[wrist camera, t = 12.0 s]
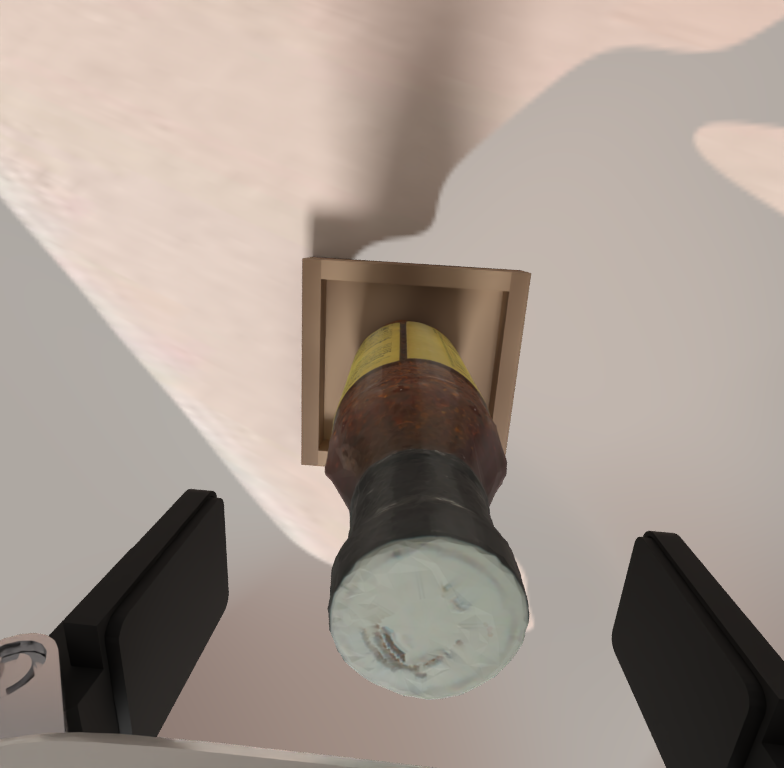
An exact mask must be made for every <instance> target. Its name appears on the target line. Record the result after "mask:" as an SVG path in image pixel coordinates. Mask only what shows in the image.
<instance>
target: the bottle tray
mask: <svg viewBox="0 0 784 768" xmlns="http://www.w3.org/2000/svg"><path fill="white" fill-rule="evenodd" d="M530 278H531V273H528V272H524V271H521V270H507V269H491V268H475V267H460V266H445V265H444V266H443V265H429V264H413V263H398V262H382V261H366V260H351V259H336V258H320V257H309V258H303V259H302V451H301V465H313V466H325V464H326V460H327V454H328V449H329V442H330V438H331V435H332V428H333V421H334V417H335V413H336V410H337V407H338V404H339V401H340V398H341V396H342V393H343V390H344V387H345V384H346V381H347V378H348V375H349V372H350V369H351V366H352V363H353V360H354V357H355V355H356V353H357V351H358V349H359V348H360V346H361V345H362V343H363V341H364V340H365V339H366V338H367V337H368V336H369V335H371V334H372V333H373V332H375V331H377V330H378V329H379V328H380V327H383V326H384V325H386V324H388V323H391V322H394V321H398V320H407V321H414V322H419V323H422V324H426V325H428V326H430V327H432V328H436V329H438V330H439V331H440V332H441V333H442V334H443V335H444V336H445V337H446V338H448V339H449V341H450V342H451V343H452V344H453V346H454V347H455V349H456V350H457V352H458V353H459V356H460V357H461V359H462V361H463V363H464V365H465V366H466V368H467V370H468V372H469V374H470V375H471V377H472V379H473V381H474V383H475V385H476V386H477V388H478V390H479V392H480V393H481V395H482V397H483V399H484V400H485V403H486V405H487V408H488V410H489V413H490V416H491V418H492V420H493V422H494V423H495V424H496V425H497V431H498V434H499V438H500V441H501V445H502V448H503V451H504V454H506V447H507V440H508V433H509V426H510V419H511V412H512V405H513V398H514V391H515V384H516V377H517V370H518V363H519V356H520V349H521V342H522V335H523V327H524V321H525V313H526V306H527V299H528V292H529V285H530Z"/></svg>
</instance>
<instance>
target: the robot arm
mask: <svg viewBox="0 0 784 768" xmlns="http://www.w3.org/2000/svg"><path fill="white" fill-rule="evenodd" d="M228 596H229V591H228V573H227V553H226V536H225V518H224V502H223V500H222V499H221V498H217V495H216V493H215V492H214V491H207V490H195V489H188V490H187V491H186V492H185V493H184V494H183V495H182V496H181V497H180V498H179V499H178V500H177V501H176V502H175V503H174V504H173V506H172V507H171V508H170V509H169V510H168V511H167V512H166V513H165V514H164V515H163V516H162V517H161V518H160V519H159V521H157V523H156V524H155V525H154V526H153V527H152V528H151V529H150V530H149V531H148V532H147V533H146V534H145V535H144V536H143V537H142V538H141V539H140V541H139V542H138V543H137V544H136V545H135V546H134V547H133V548H131V549H130V550H129V551H128V552H127V553H126V554H125V555H124V557H123V558H122V559H121V560H120V561H119V562H118V563H117V564H116V565H115V566H114V567H113V568H112V569H111V570H110V572H108V573H107V575H106V576H105V577H104V578H103V579H102V580H101V581H100V582H99V583H98V584H97V585H96V586H95V587H94V588H93V589H92V590H91V592H90V593H89V594H88V595H87V596H86V597H85V598H84V599H83V600H82V601H81V602H80V603H79V604H78V605H77V606H76V607H75V608H74V610H73V611H72V612H71V613H70V614H69V615H68V616H67V617H66V618H65V619H64V620H63V621H62V622H61V623H60V624H59V625H58V626H57V628H56V629H55V630H54V631H53V632H52V633H51V634H50V635H49V636H47V635H43V634H37V633H29V634H19V635H16V636H12V637H8V638H4V639H2V640H0V768H433V767H425V766H417V765H408V764H400V763H391V762H383V761H373V760H365V759H357V758H349V757H340V756H331V755H321V754H313V753H304V752H295V751H286V750H277V749H267V748H259V747H250V746H241V745H232V744H223V743H214V742H203V741H193V740H182V739H171V738H161V737H157V735H158V733H159V732H160V730H161V728H162V726H163V724H164V722H165V720H166V719H167V716H168V715H169V713H170V711H171V709H172V707H173V706H174V704H175V702H176V700H177V698H178V696H179V694H180V692H181V691H182V689H183V687H184V685H185V683H186V681H187V679H188V678H189V676H190V674H191V672H192V670H193V668H194V666H195V665H196V662H197V661H198V659H199V657H200V655H201V653H202V652H203V650H204V648H205V646H206V644H207V642H208V641H209V639H210V637H211V635H212V633H213V631H214V629H215V628H216V626H217V624H218V622H219V620H220V618H221V617H222V615H223V613H224V611H225V609H226V606H227V602H228ZM612 645H613V649H614V652H615V654H616V656H617V659H618V661H619V663H620V665H621V668H622V670H623V672H624V674H625V676H626V679H627V681H628V683H629V685H630V687H631V690H632V692H633V694H634V697H635V699H636V701H637V703H638V706H639V708H640V710H641V712H642V714H643V717H644V719H645V721H646V723H647V726H648V728H649V730H650V732H651V735H652V737H653V739H654V741H655V743H656V745H657V748H658V750H659V752H660V755H661V757H662V759H663V761H664V764H665V766H666V768H784V661H783V660H782V659H781V657H780V656H779V655H778V654H777V653H776V651H775V650H774V649H773V648H772V647H771V645H770V644H769V643H768V642H767V640H766V639H765V638H764V637H763V636H762V634H761V633H760V632H759V631H758V630H757V629H756V627H755V626H754V625H753V624H752V623H751V621H750V620H749V619H748V618H747V617H746V615H745V614H744V613H743V612H742V611H741V610H740V608H739V607H738V606H737V605H736V604H735V602H734V601H733V600H732V599H731V597H730V596H729V595H728V594H727V593H726V591H725V590H724V589H723V588H722V587H721V585H720V584H719V583H718V582H717V581H716V579H715V578H714V577H713V576H712V575H711V573H710V572H709V571H708V570H707V569H706V567H705V566H704V565H703V564H702V563H701V561H700V560H699V559H698V558H697V557H696V556H695V554H694V553H693V552H692V551H691V549H690V548H689V547H688V546H687V545H686V543H684V541H683V540H682V539H681V537H680V536H678V535H677V534H675V533H666V532H655V531H647V532H646V533H645V534H644V535H643V537H638V538H637V539H636V541H635V544H634V547H633V552H632V555H631V559H630V563H629V567H628V571H627V575H626V579H625V583H624V587H623V591H622V595H621V599H620V603H619V607H618V611H617V615H616V619H615V623H614V627H613V631H612Z"/></svg>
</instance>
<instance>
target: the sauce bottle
mask: <svg viewBox="0 0 784 768" xmlns="http://www.w3.org/2000/svg"><path fill="white" fill-rule="evenodd" d="M506 467H507V461H506V458H505V454H504V451H503V448H502V445H501V441H500V438H499V434H498V431H497V425H496V424H495V423H494V422H493V420H492V418H491V416H490V413H489V410H488V408H487V405H486V403H485V400H484V399H483V397H482V395H481V393H480V392H479V390H478V388H477V386H476V385H475V383H474V381H473V379H472V377H471V375H470V374H469V372H468V370H467V368H466V366H465V365H464V363H463V361H462V359H461V357H460V356H459V353H458V352H457V350H456V349H455V347H454V346H453V344H452V343H451V342H450V341H449V339H448V338H446V337H445V336H444V335H443V334H442V333H441V332H440V331H439V330H438V329H436V328H432V327H430V326H428V325H426V324H422V323H419V322H414V321H407V320H398V321H394V322H391V323H388V324H386V325H384V326H383V327H380V328H379V329H378V330H377V331H375V332H373V333H372V334H371V335H369V336H368V337H367V338H366V339H365V340H364V341H363V343H362V345H361V346H360V348H359V349H358V351H357V353H356V355H355V357H354V360H353V363H352V366H351V369H350V372H349V375H348V378H347V381H346V384H345V387H344V390H343V393H342V396H341V398H340V401H339V404H338V407H337V410H336V413H335V417H334V421H333V428H332V435H331V438H330V442H329V449H328V454H327V460H326V464H325V474H326V476H327V477H328V478H329V479H330V480H331V481H332V482H333V484H334V485H335V487H336V489H337V490H338V492H339V494H340V495H341V497H342V499H343V501H344V502H345V504H346V506H347V507H348V509H349V511H350V530H349V535H348V539H347V540H346V542H345V543H344V544H343V546H342V547H341V549H340V551H339V553H338V555H337V556H336V558H335V561H334V564H333V567H332V572H331V586H330V600H329V606H328V612H329V630H330V632H331V634H332V637H333V639H334V642H335V644H336V647H337V650H338V652H339V653H340V654H341V656H342V658H343V660H344V661H345V662H346V663H347V664H348V665H349V666H350V667H351V668H353V669H354V670H355V671H356V672H358V673H359V674H360V675H361V676H362V677H364V678H366V679H367V680H369V681H371V682H372V683H374V684H376V685H379V686H381V687H384V688H387V689H389V690H391V691H394V692H396V693H399V694H401V695H403V696H411V697H417V698H422V699H442V698H447V697H452V696H457V695H461V694H464V693H466V692H468V691H470V690H472V689H474V688H476V687H478V686H480V685H481V684H483V683H485V682H487V681H488V680H490V679H492V678H493V677H495V676H496V675H497V674H498V673H499V672H500V671H501V670H502V669H503V668H504V667H505V666H506V665H507V664H508V663H509V662H510V661H511V659H512V658H513V657H514V656H515V654H516V653H517V651H518V649H519V648H520V647H521V645H522V643H523V641H524V637H525V631H526V628H527V626H528V623H529V609H528V600H527V596H526V592H525V589H524V585H523V583H522V579H521V574H520V571H519V569H518V566H517V563H516V561H515V558H514V555H513V552H512V550H511V548H510V547H509V545H508V542H507V541H506V540H505V539H504V538H503V537H502V536H501V534H500V533H499V532H498V531H497V529H496V528H495V527H494V525H493V522H492V520H491V517H490V509H489V506H490V504H491V502H492V500H493V497H494V495H495V493H496V492H497V490H498V488H499V487H500V486H501V484H502V482H503V480H504V478H505V476H506V470H507V468H506Z"/></svg>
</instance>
